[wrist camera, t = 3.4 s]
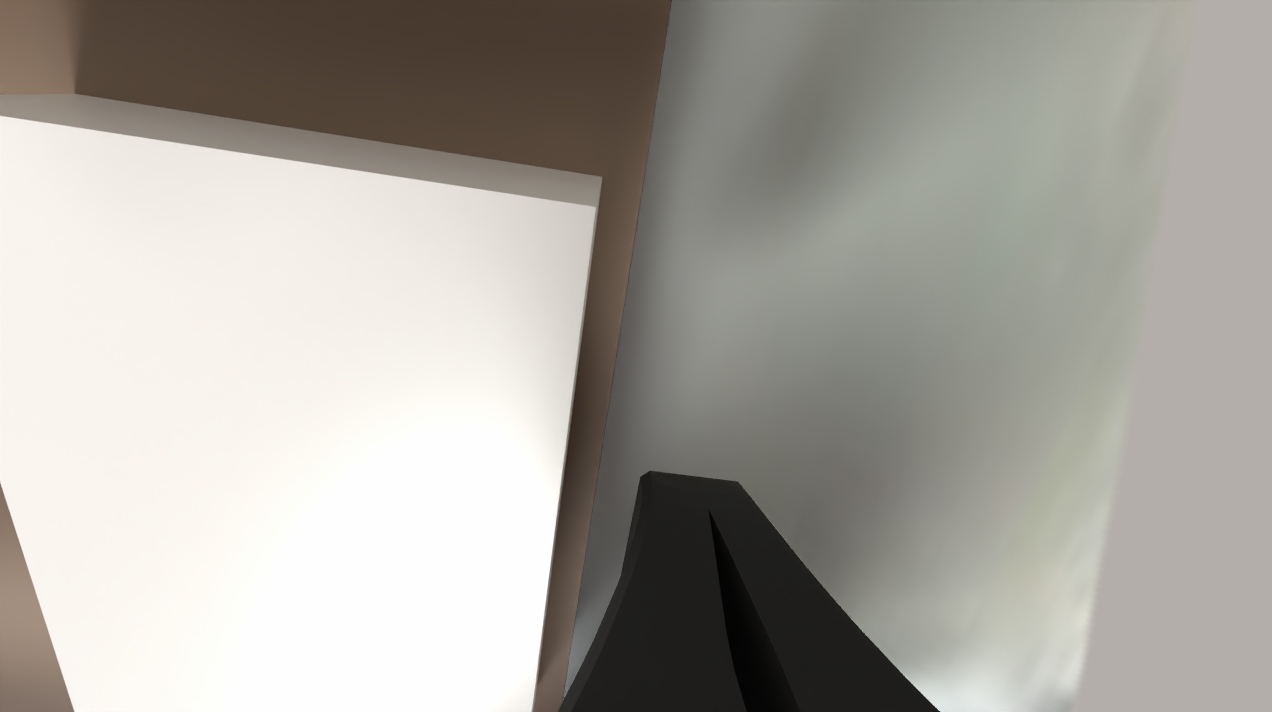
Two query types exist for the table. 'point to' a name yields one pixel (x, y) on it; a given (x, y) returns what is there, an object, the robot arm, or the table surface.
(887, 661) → the robot arm
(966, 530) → the table surface
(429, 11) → the riser
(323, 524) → the card case
